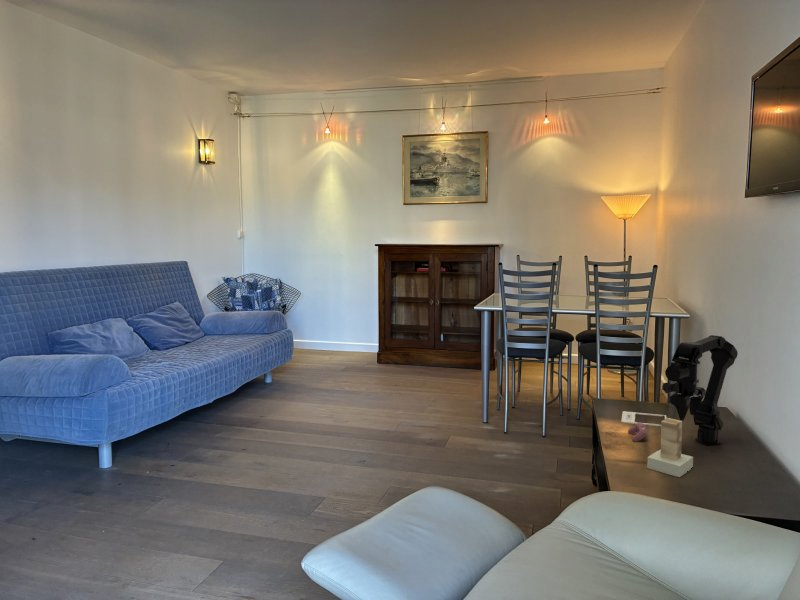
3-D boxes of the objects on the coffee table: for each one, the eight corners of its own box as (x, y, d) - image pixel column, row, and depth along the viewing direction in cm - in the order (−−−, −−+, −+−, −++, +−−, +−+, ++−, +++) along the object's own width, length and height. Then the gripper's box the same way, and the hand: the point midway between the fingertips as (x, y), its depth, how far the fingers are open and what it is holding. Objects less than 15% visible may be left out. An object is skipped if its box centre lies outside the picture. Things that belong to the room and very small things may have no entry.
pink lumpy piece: (642, 446, 224) (651, 431, 223) (631, 440, 225) (640, 425, 223) (636, 437, 234) (645, 422, 233) (626, 431, 234) (634, 417, 233)
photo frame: (622, 410, 260) (666, 414, 253) (622, 413, 261) (666, 417, 253) (621, 420, 247) (666, 425, 240) (621, 423, 247) (666, 428, 240)
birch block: (666, 453, 203) (667, 417, 201) (681, 457, 199) (682, 421, 198) (660, 457, 200) (661, 421, 198) (674, 461, 196) (676, 424, 194)
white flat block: (661, 459, 208) (661, 448, 207) (692, 467, 199) (693, 456, 199) (647, 468, 200) (647, 457, 200) (679, 477, 192) (679, 466, 192)
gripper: (676, 368, 223) (675, 407, 225) (655, 378, 210) (654, 418, 212) (706, 373, 215) (705, 413, 216) (686, 383, 202) (685, 425, 204)
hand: (686, 417), depth 212 cm, fingers open, 9 cm apart
